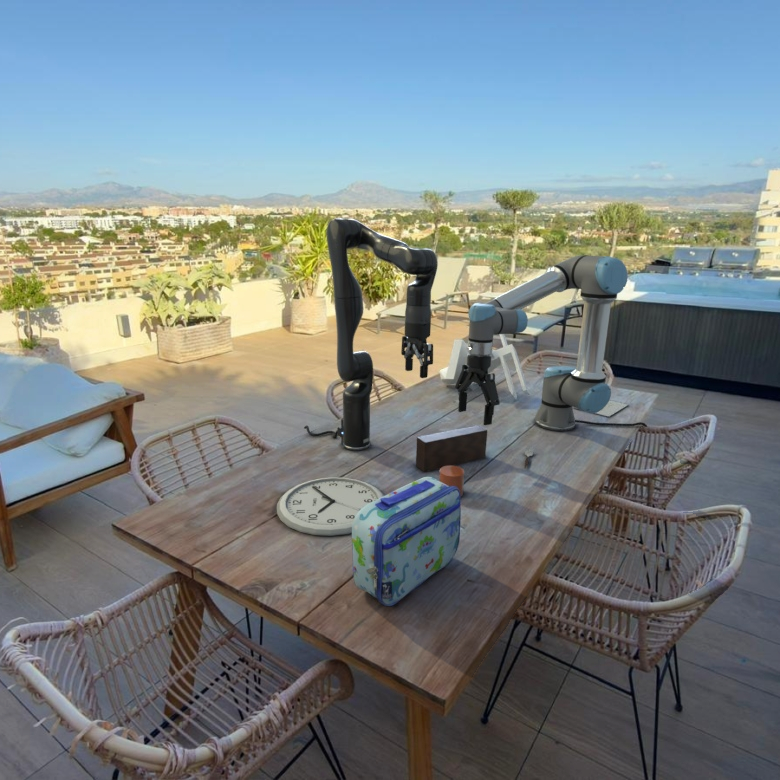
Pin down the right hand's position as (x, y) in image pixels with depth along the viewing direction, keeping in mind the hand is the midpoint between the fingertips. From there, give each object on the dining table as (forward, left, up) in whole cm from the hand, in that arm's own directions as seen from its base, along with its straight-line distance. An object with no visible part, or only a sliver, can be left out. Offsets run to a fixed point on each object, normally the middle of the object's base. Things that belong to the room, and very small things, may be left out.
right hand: (474, 417), depth 170 cm
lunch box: (+16, +66, -14) cm, 69 cm away
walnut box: (+7, +5, -14) cm, 16 cm away
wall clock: (+39, +38, -14) cm, 56 cm away
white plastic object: (-6, -73, -14) cm, 75 cm away
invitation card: (-57, -61, -14) cm, 85 cm away
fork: (-18, 0, -14) cm, 23 cm away
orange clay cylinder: (+7, +26, -14) cm, 30 cm away
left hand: (+19, +12, +17) cm, 28 cm away
